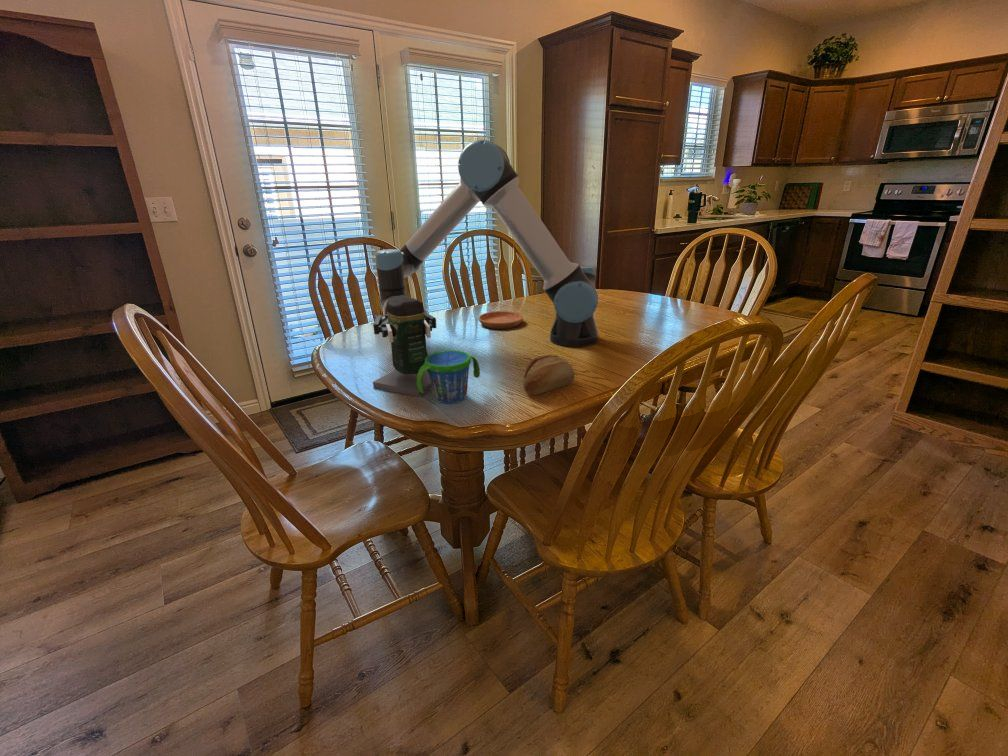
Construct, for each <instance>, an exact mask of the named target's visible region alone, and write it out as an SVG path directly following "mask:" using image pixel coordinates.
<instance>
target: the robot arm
mask: <svg viewBox="0 0 1008 756" xmlns="http://www.w3.org/2000/svg"><path fill="white" fill-rule="evenodd" d="M510 162H511V161H510V159H509V156H508V154H507V152H506V151H505V150H504V149H503V148H502V147H501V146H499V145H497V144H495V143H494V142H493V141H490V140H488V139H479V140H474V141H471V142H470V143H468V144H467V145H466V146H464V148H463V149H462V151H461V153H460V155H459V158H458V164H457V169H458V174H459V177H460V181H459V183H458V184H457V185H456V186H455V187H454V188H453V189H452V191H451V192H450V193H449V194H448V195H447V196H446V197H445V199H444V200H443V201H442V202H441V203H440V205H439V206H438V207H437V208H436V209H435V210H434V211H433V212H432V214H430V215H429V217H428V218H427V219H426V220H425V221H424V222H423V224H422V225H421V226H420V227H419V228H418V229H417V230H416V231H415V232H414V234H413V235H411V237H410V238H409V239H408V240H407V242H406V243H405V244H404V245H402V247H401V248H400V249H394V248H393V249H391V248H389V249H381V250H378V251H376V253H375V267H376V274H377V280H378V288H379V306H380V308H381V311H382V312H383V314H384V316H383V315H380V314H374V322H373V324H372V326H373V333H374V335H379V334H380V333H381V335H382V338H388V341H389V343H391V342H393V335H392V330H391V327H390V325H389V320H388V315H387V301H388V300H389V299H390V297H393V296H401V295H406V296H407V294H406V293H407V292H406V282H405V278H407V277H409V276H411V275H414V274H415V273H416V272H417V271H419V269H420V267H421V265H422V264H423V262H425V260H426V259H428V258H429V256H430V255H431V254H432V253H433V252H434V251H435V250H436V248H437V247H439V245H440V244H441V243H442V242H444V240H445V239H446V238H447V237H448V236H449V234H451V233H452V231H453V230H454V229H455V228H456V227H457V226H458V225H459V224H460V223H461V222H462V221H463V220H464V219H465V217H466V216H468V214H469V213H470V212H471V211H472V210H473V209H474V207H476V205H477V204H478V203H480V202H481V204H482V205H483V206H484V207H489V208H492V209H493V211H494V212H495V213H496V215H497V216H498V218H499V219H500V221H501V222H502V223H503V225H504V226H505V228H506V229H507V230H508V232H509V233H510V235H511V236H512V238H513V239H514V240H515V242H516V243H517V244H518V246H519V247H520V249H521V251H522V252H523V253H524V254H525V256H526V257H527V259H528V260H529V261H530V263H531V264H532V266H533V267H534V269H535V270H536V271H537V273H538V274H539V276H540V277H541V278H542V280H543V288H542V289H543V291H544V292H545V294H546V295H547V297H548V298H549V299H550V301H551V302H552V303H553V308H554V310H555V318H554V320H553V324H552V326H551V328H550V329H551V330H550V332H549V340H550V341H551V343H553V344H556V345H559V346H563V347H573V348H574V347H575V348H576V347H580V348H581V347H587V346H591V345H594V344H596V343H597V342H598V341H599V332H598V329H597V325H596V321H595V318H594V314H595V312H596V310H597V308H598V304H599V295H598V292H597V289H596V278H597V271H596V268H595V267H593V266H580V264H579V263H576V262H572V261H570V259H568V257H567V255H566V254H565V253H564V251H563V250H562V248H561V247H560V246H559V244H558V243H557V241H556V239H555V238H554V237H553V235H552V234H551V232H550V231H549V230H548V228H547V226H546V225H545V224H544V222H543V220H542V219H541V217H540V216H539V215H538V213H537V212H536V210H535V209H534V208H533V206H532V205H531V203H530V202H529V200H528V199H527V197H526V196H525V194H524V193H523V191H522V190H521V188H520V187H519V184H520V183H519V181H520V177H519V175H518V173H517V172H516V171H515V168H513V166H512V165H511V163H510ZM424 328H425V337H426V338H428V339H431V338H432V336H431V335H432V334H431V332H432V331H433V329H437V318H436V317H434V316H433V315H432V314H429V313H428V312H427V310H425V309H424Z"/></svg>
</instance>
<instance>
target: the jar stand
mask: <svg viewBox="0 0 1008 756" xmlns="http://www.w3.org/2000/svg"><path fill="white" fill-rule="evenodd" d="M417 375H418V374H402V373H400V372H399V371H397V370H396V369H394V370H392V371H390V372H389V373H387V374H385V375H383V376H381V377H379V378H377V379H376V380H374V381H372V387H373V388H375V389H379V390H385V391H390V392H395V393H399V394H404V395H410V396H413V397H414V396H415V397H421V396H423V395H424V394H426V393H427V392H429V391H430V390H433V389H432V385H431V380H430V377H429V373H428V371H427V370H426V371H425V372H424V374H423V375H422V377H421V383H422V387H423V391H424V393H421V392H420V391H419V390H418V387H417Z"/></svg>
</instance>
